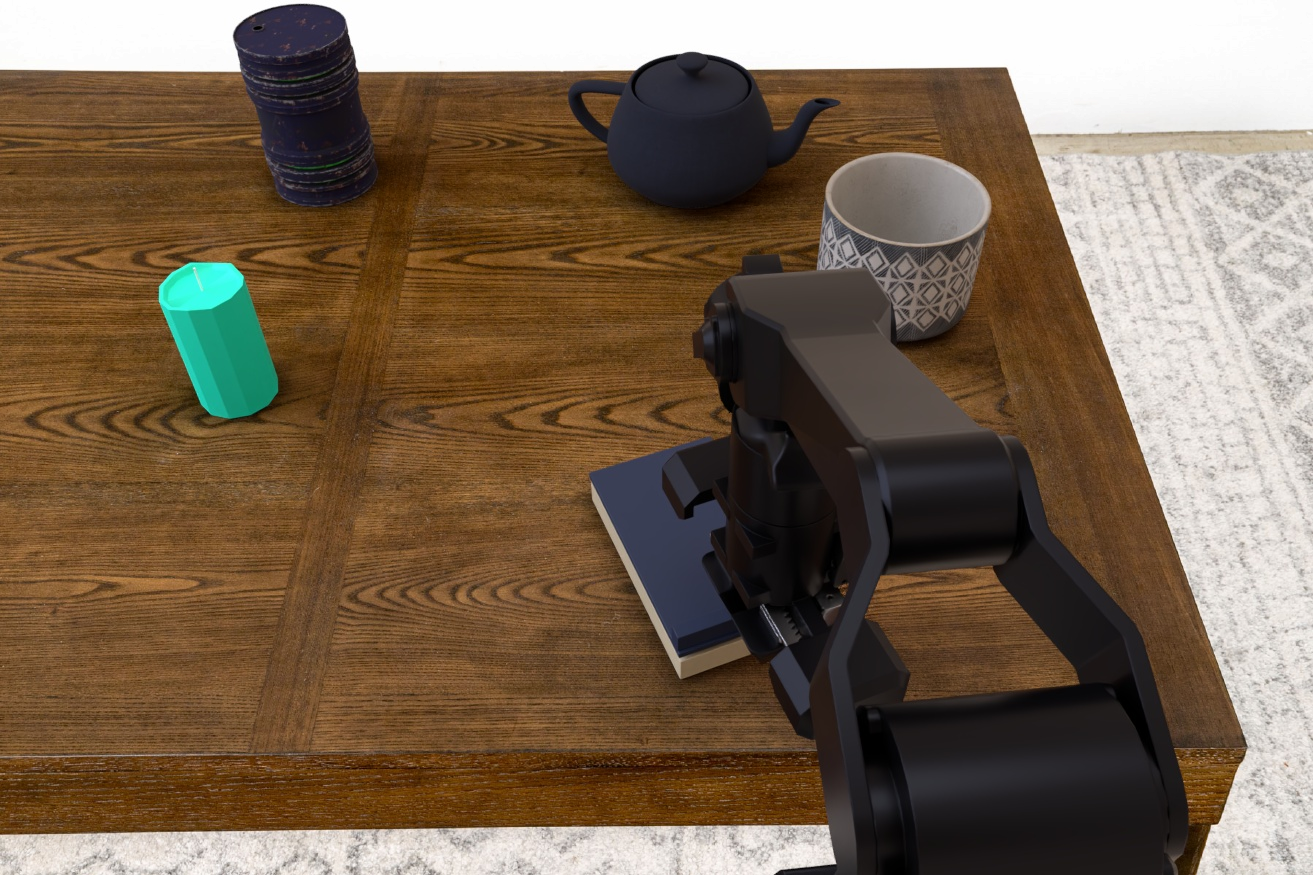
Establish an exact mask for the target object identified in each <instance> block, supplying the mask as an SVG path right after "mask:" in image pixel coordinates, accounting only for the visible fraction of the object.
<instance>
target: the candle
mask: <svg viewBox="0 0 1313 875" xmlns="http://www.w3.org/2000/svg"><path fill="white" fill-rule="evenodd" d="M246 282H247V281H246V279H245V276H244V274H242V273H241V271H240V270H238V269H237V268H236V266H235V265H234V264H233V263H231V262H188V263H187V264H185V265H184V266H182V267H180V268H178V269H176V270H174V271H172V272H171V273H169V275H168V276H167V277H166V278H165V280H164V281H163V282H161V284H160V285H159V286H158V302H159V305H160V308H161V310H162V312H163V315H164V317H165V320H166V323H167V325H168V327H169V330H170V333H171V335H172V337H173V339H174V342H175V344H176V347H177V349H178V352H179V354H180V357H181V359H182V361H183V364H184V366H185V368H186V371H187V374H188V376H189V378H190V380H191V383H192V386H193V388H194V390H195V393H196V396H197V398H198V400H199V402H200V405H201V407H203V408H204V409H205V411H207V412H208V413H209V414H210V416H214V417H220V418H224V419H236V418H242V417H247V416H252V415H253V414H256V413H257V412H259V411H260V410H262V409H264V408H266V407H268V406H269V405H270V404H271V403H272V401H273V400H274V398H275V397H276V395H278V393H279V378H278V375H277V371H276V369H275V365H274V362H273V360H272V357H271V354H270V350H269V347H268V345H267V342H266V338H265V336H264V332H263V330H262V326H261V324H260V321H259V317H258V315H257V311H256V308H255V306H254V303H253V299H252V296H251V294H250V291H249V288H248V285H247V283H246Z"/></svg>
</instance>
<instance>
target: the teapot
mask: <svg viewBox="0 0 1313 875" xmlns="http://www.w3.org/2000/svg"><path fill="white" fill-rule="evenodd" d="M591 93H592V94H603V95H612V96H618V97H619V99H618V101H617V102H616V105H615V108H614V110H613V112H612V116H611V119H610V122H609V128H607V127H606V126H605V125H603V124H602V123H601V122H600V121H599V120H597V119H596V117H594V116H593V114H592V113H591V112H590V111H589V109H588V108H587V106H586V104H585V102H584V98H583V96H582V95H583V94H591ZM764 99H765V98H764V97H763V93H762V92H761V90H760V88H759V86H758V83H757V81H756V80H755V77H754V76H753V74H751V72H750V71H749V70H747V68H745V67H744V66H742V65H741V64H740V63H738V62H736V61H734V60H731V59H728V58H726V57H722V56H718V55H715V54H714V55H713V54H707V53H702V52H698V51H685V52H682V53H675V54H669V55H664V56H660V57H657V58H655V59H652V60H649V61H648V62H646V63H643V65H640V66H639V67H638V68H637V69H635V71H634V72H633V73H632V74H631V75H630V77H629V78H628V80H627V82H625V81H624V82H623V81H617V80H616V81H615V80H604V79H581V80H578V81H576V82H574V83H572V85H571V86H570V87H569V89H568V93H567V100H568V101H567V102H568V105H569V109H570V111H571V112H572V114H573V116H574V117H575V120H577V121H578V123H579V124H580V125H581V126H582V127H583V128H584V129H585V130H586V131H587V132H589V133H590V134H591V135H592V136H593V137H595V138H596V139H598V140H599V141H601V142H602V143H604V144H606V151H607V157H608V161H609V163H610V165H611V168H612V170H613V171H614V173H615V175H617V176H618V178H619V179H620V180H621V181H622V182H623V183H624V184H625V185H626V186H628V187H629V188H630V189H632V190H633V191H634V192H636V193H638V194H640V195H641V196H643V197H644V198H646V199H647V200H650V201H652V202H654V203H656V204H658V205H661V206H662V205H663V206H666V207H672V208H677V209H695V210H696V209H705V208H711V207H716V206H719V205H723V204H725V203H728V202H730V201H733V200H734V199H736V198H737V197H739V196H740V195H742V194H744V193H746V192H748V191H749V190H750V189H752V188H753V187H754V186H756V184H758V183H759V182H760V181H761V180H762V179H763V178H764V176H765V175H766V174H767V172H768V170H769V169H773V168H777V167H780V166H783V165H784V164H786V163H788V162H789V161H790V160H792V158H794V157H795V155H796V154H797V153H798V152H799V150H800V148H801V146H802V144H803V142H804V140H805V138H806V137H807V136H806V135H807V133H808V131H809V129H810V127H811V125H812V123H813V121H814V120H815V118H816V117H817V116H818V115H819V114H821V113H822V112H824V111H826V110H828V109H831V108H835V107H838V106H840V105H841V104H842V102H841V100H839V99H835V98H830V97H815V98H811V99H809V100H808V101H806V102H805V103H804V104H803V105H802V106H801V107H800V108H799V110H798V112H797V113H796V115H795V118H794V120H793V122H792V123H791V124H790V126H788V127H787V128H785V129H780V130H774V125H773V120H772V117H771V115H770V112H769V108H768V106H767V104H766V101H765V100H764Z"/></svg>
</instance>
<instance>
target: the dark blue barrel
mask: <svg viewBox="0 0 1313 875" xmlns="http://www.w3.org/2000/svg"><path fill="white" fill-rule="evenodd" d="M232 40H233V44H234V48H235V50H236V52H237V58H238V62H239V69H240V73H241V76H242V80H243V81H244V83H245V91H246V94H247V96H249V100H250V101H251V102H252V103H253V105H254V107H255V111H256V115H257V117H258V122H259V125H260V128H261V129H260V143H261V146H262V148H263V150H264V157H265V160H266V163H267V166H268V168H269V169H270V173H271V175H272V178H273V182H274V186H275V190H276V192H277V193H278V194H279V196H280V197H281V198H282V199H284V200H286V201H287V202H289V203H292V204H293V205H294V204H295V205H298V206H303V207H311V208H315V207H316V208H317V207H319V208H320V207H330V206H336V205H340V204H343V203H346V202H349V201H353V200H355V199H357V198H358V197H360V196H362V195H364V194H365V193H366V192H367V191H369V190H370V189H371V188H372V187H373V185H374V184H375V183H376V181H377V179H378V176H379V170H378V165H377V161H376V160H375V157H376V156H375V145H374V140H373V136H372V133H371V126H370V123H369V120H368V117H367V115H366V114H365V113H364V111H363V107H362V102H361V97H360V92H359V88H358V87H359V84H360V79H359V78H360V76H359V75H360V73H359V69H358V67H357V60H356V54H355V50H354V46H353V45H352V41H351V37H350V35H349V27H348V23H347V18H346V17H345V16H344V14H342V13H341V11H338V10H336V9H335V8H332V7H330V6H326V5H322V4H315V3H288V4H281V5H277V6H272V7H269V8H265V9H262V10H259V11H257V12H255V13H253V14H251V15H249V16H247V17H245V18H244V19H243V20H242V21H240V22H239V23H238V24H237V25H236V26H235V28H234V30H233V32H232Z"/></svg>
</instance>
